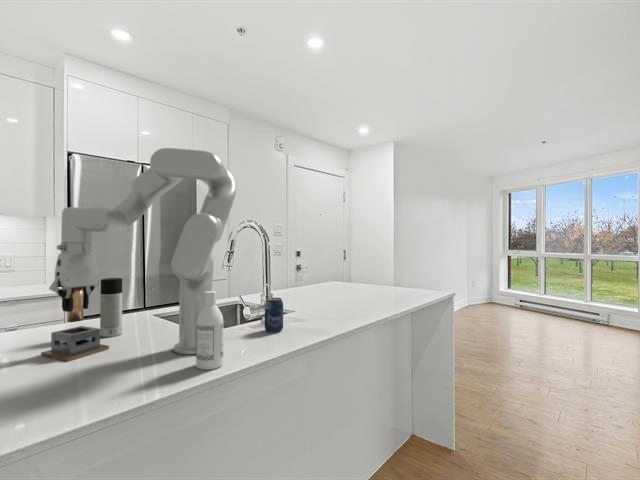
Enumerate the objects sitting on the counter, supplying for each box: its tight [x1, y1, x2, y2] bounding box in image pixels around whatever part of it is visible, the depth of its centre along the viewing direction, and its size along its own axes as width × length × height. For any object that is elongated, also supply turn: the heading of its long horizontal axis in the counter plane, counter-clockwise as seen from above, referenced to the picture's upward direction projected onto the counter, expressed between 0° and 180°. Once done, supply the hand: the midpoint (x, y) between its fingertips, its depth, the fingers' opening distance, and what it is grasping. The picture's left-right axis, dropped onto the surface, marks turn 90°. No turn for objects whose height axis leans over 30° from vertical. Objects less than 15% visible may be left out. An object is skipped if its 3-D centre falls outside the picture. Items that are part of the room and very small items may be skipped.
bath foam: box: [195, 290, 224, 371], centre depth 92 cm, size 7×7×20 cm
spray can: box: [99, 277, 123, 338], centre depth 121 cm, size 7×7×20 cm
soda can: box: [264, 297, 284, 334], centre depth 128 cm, size 7×7×12 cm
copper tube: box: [66, 287, 85, 323], centre depth 102 cm, size 4×4×11 cm
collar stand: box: [40, 325, 110, 362], centre depth 102 cm, size 12×12×6 cm
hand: (75, 309), depth 102 cm, fingers closed on copper tube, 4 cm apart
